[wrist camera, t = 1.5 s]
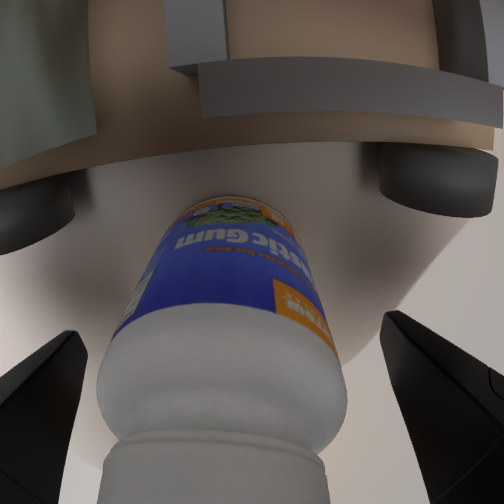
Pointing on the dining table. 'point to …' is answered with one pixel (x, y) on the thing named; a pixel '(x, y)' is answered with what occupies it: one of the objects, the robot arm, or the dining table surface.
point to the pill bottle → (222, 368)
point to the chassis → (247, 92)
